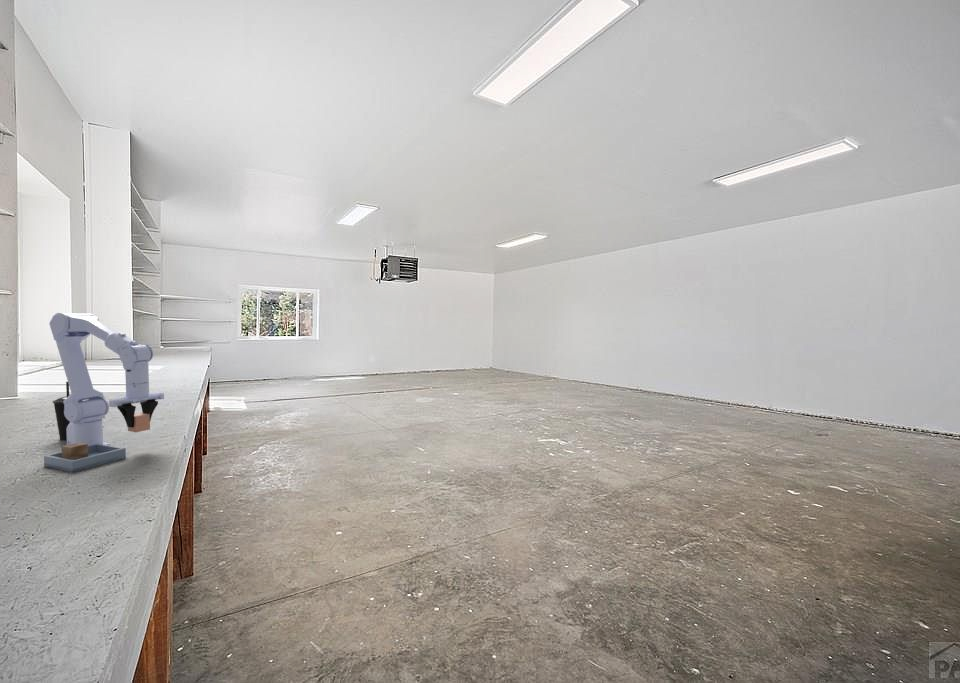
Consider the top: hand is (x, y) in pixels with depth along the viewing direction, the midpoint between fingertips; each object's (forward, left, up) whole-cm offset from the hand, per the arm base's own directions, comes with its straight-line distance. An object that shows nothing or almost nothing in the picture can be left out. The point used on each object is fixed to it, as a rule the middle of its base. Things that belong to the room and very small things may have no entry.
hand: (138, 425), depth 134 cm
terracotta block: (0, 0, -2) cm, 2 cm away
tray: (-3, -12, -8) cm, 15 cm away
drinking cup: (-37, +1, -9) cm, 38 cm away
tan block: (-3, -15, -8) cm, 17 cm away
